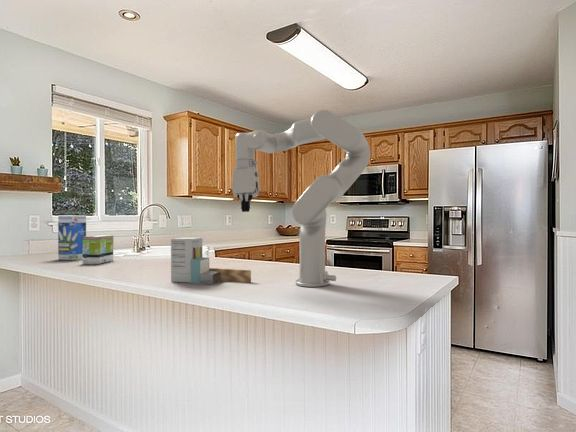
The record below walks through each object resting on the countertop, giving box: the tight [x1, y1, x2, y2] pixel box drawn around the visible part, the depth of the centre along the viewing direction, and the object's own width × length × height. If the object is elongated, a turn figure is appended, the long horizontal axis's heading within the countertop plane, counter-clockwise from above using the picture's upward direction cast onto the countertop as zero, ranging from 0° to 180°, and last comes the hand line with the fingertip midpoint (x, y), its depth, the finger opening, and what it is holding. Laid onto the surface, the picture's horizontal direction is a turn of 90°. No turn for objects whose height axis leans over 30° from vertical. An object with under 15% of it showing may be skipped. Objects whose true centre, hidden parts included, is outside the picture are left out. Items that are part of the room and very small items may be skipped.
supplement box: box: [170, 237, 203, 283], centre depth 152 cm, size 10×9×17 cm
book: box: [190, 256, 210, 285], centre depth 148 cm, size 4×8×9 cm, turn 167°
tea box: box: [81, 234, 114, 265], centre depth 210 cm, size 15×10×15 cm
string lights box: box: [57, 214, 87, 261], centre depth 225 cm, size 13×8×26 cm, turn 80°
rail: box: [209, 267, 252, 284], centre depth 150 cm, size 18×1×4 cm, turn 67°
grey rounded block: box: [199, 271, 222, 286], centre depth 146 cm, size 5×8×4 cm, turn 168°
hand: (245, 211), depth 150 cm, fingers closed
